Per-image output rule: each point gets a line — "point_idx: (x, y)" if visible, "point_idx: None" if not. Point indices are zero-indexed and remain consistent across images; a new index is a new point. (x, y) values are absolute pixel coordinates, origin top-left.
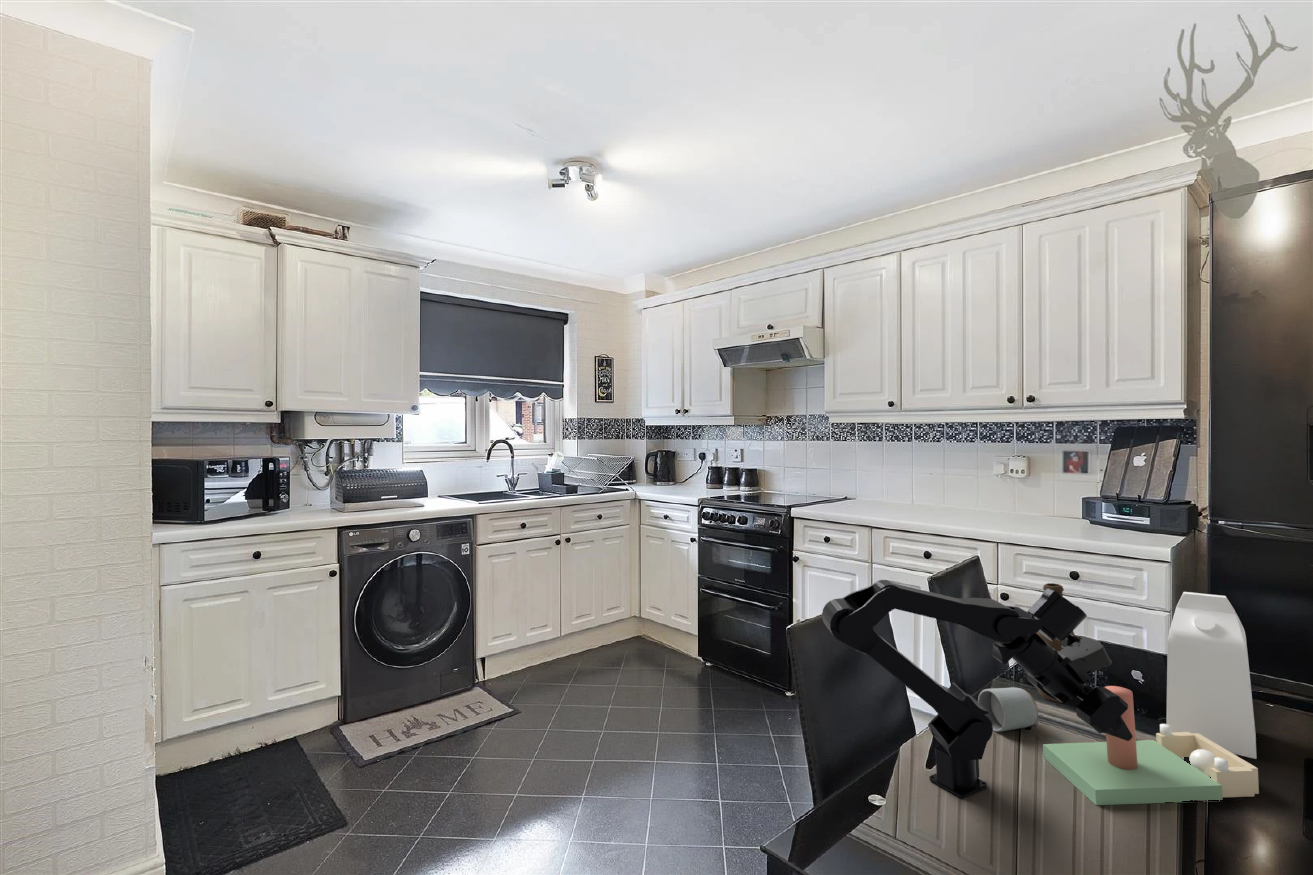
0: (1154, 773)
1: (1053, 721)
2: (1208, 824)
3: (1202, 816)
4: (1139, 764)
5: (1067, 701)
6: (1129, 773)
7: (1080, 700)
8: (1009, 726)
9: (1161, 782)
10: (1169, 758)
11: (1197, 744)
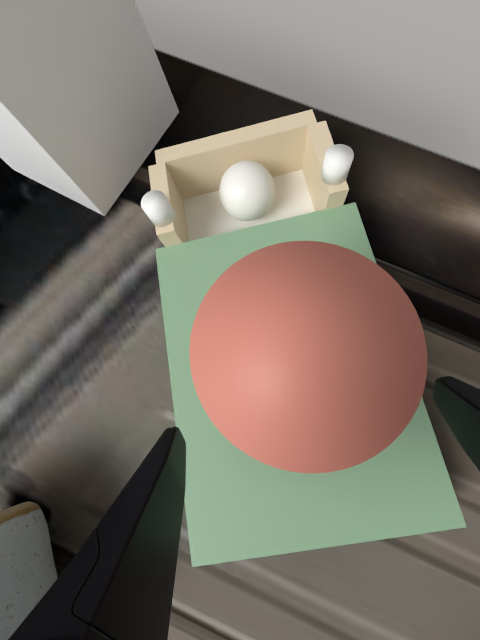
0: None
1: (14, 423)
2: (452, 287)
3: (421, 284)
4: None
5: (163, 608)
6: None
7: (159, 519)
8: None
9: None
10: (243, 253)
11: (179, 174)
